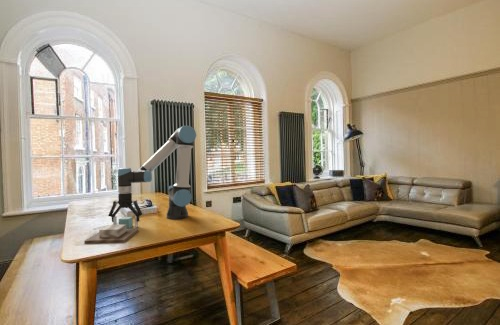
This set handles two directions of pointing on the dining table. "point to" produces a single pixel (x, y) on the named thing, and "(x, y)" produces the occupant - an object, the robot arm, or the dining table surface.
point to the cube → (126, 221)
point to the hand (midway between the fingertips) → (125, 227)
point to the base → (112, 239)
